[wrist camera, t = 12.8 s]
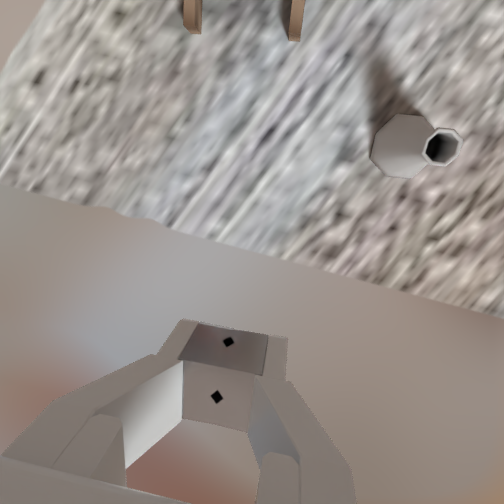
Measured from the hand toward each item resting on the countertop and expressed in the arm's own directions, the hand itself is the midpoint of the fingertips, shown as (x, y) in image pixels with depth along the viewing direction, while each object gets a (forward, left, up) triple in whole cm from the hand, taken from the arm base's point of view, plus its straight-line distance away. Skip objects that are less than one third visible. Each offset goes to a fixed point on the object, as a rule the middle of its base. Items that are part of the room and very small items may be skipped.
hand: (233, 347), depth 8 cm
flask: (-15, 0, -33) cm, 36 cm away
